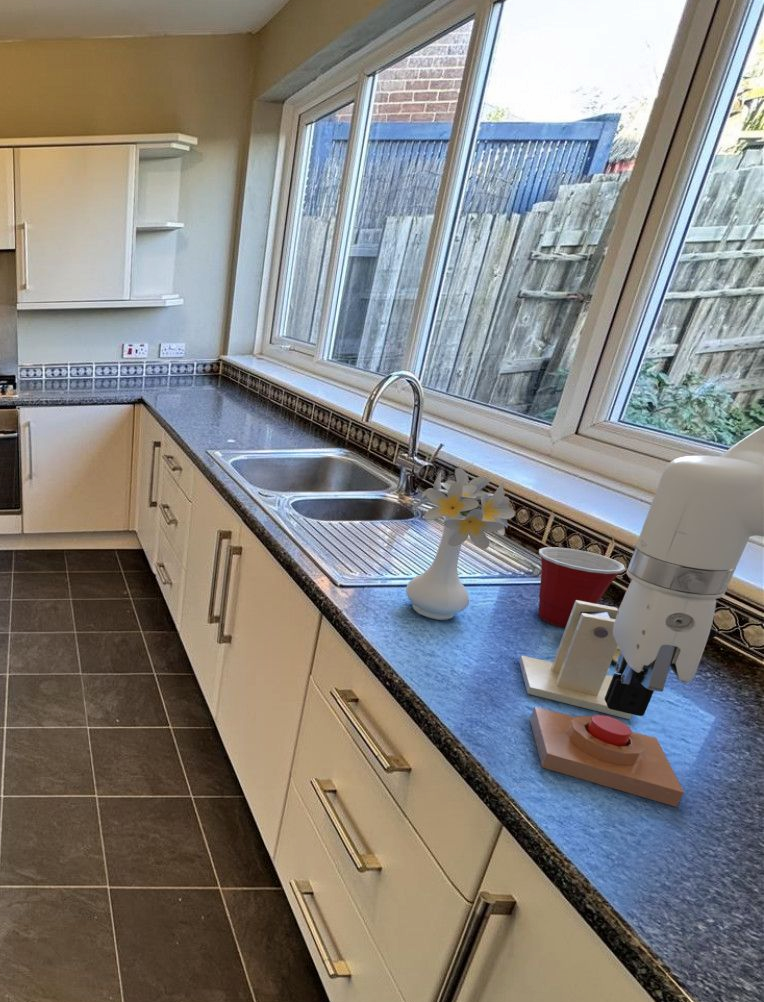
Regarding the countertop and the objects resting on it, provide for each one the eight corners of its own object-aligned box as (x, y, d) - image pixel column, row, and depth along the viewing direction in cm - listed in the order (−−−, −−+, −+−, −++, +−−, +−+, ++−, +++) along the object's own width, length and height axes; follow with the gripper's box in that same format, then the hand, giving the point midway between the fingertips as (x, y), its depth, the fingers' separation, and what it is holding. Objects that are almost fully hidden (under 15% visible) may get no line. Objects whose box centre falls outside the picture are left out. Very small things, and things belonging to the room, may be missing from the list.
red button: (622, 732, 75) (627, 720, 75) (630, 750, 73) (635, 739, 72) (584, 722, 77) (588, 711, 76) (590, 739, 74) (595, 728, 74)
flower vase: (413, 637, 102) (449, 495, 92) (380, 585, 118) (408, 460, 109) (503, 647, 99) (551, 501, 89) (456, 592, 115) (492, 464, 106)
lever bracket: (613, 683, 90) (644, 607, 85) (630, 719, 83) (666, 638, 78) (518, 661, 95) (543, 588, 90) (527, 693, 88) (554, 616, 83)
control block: (650, 751, 77) (662, 726, 76) (677, 807, 69) (690, 780, 68) (529, 719, 83) (538, 695, 82) (541, 767, 75) (551, 741, 74)
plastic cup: (589, 611, 108) (612, 549, 104) (610, 642, 99) (637, 576, 95) (513, 598, 113) (532, 538, 108) (526, 627, 104) (548, 563, 100)
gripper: (759, 610, 59) (688, 760, 65) (701, 551, 71) (647, 683, 77) (651, 592, 62) (595, 736, 69) (614, 539, 74) (569, 666, 81)
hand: (623, 708), depth 73 cm, fingers closed
